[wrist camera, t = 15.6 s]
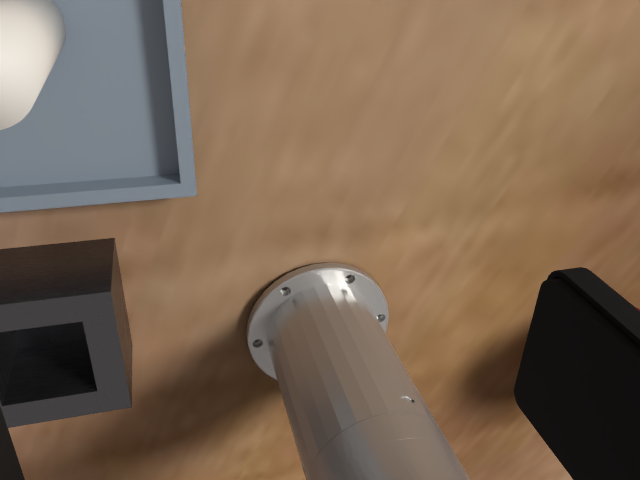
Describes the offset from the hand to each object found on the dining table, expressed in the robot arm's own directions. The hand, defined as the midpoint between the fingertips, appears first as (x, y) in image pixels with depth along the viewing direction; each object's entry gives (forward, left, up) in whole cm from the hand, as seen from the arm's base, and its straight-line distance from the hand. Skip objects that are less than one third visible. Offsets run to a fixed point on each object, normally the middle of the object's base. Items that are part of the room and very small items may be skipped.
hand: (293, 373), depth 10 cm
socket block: (-10, +20, -32) cm, 39 cm away
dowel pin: (+5, +7, -32) cm, 33 cm away
